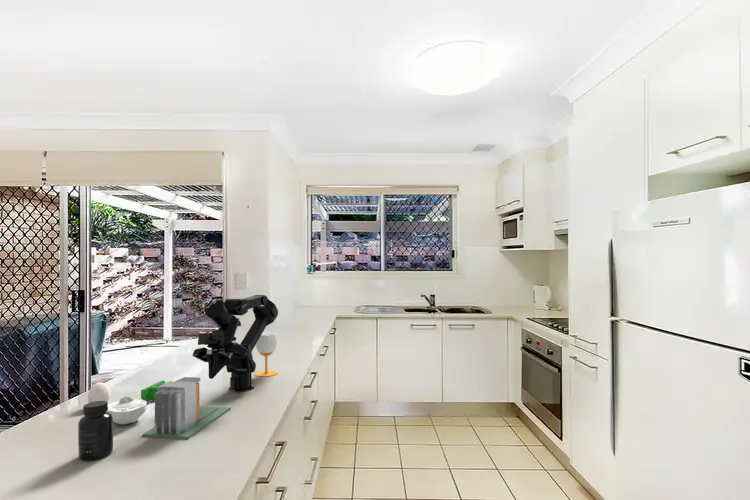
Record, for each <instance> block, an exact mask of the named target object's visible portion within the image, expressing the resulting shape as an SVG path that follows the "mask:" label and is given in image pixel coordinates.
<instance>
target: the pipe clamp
mask: <svg viewBox="0 0 750 500" xmlns="http://www.w3.org/2000/svg"><path fill="white" fill-rule="evenodd" d="M164 383H166V380H160V381H158V382H156V383H153V384H151V385H150V386H147V387H145V388H142V389H141V390H140V399H143V400H144V401H147V403H148V401H149V402H155V393H157V390H158V386H160V385H162V384H164ZM151 400H152V401H151Z"/></svg>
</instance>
